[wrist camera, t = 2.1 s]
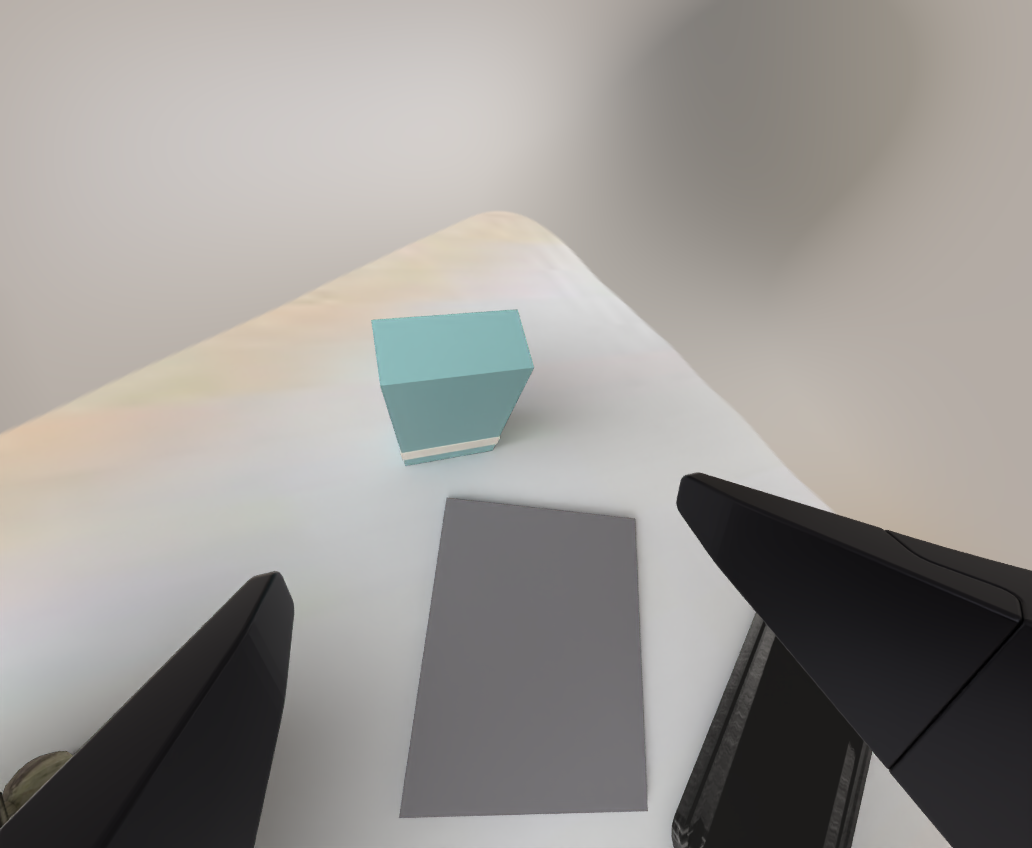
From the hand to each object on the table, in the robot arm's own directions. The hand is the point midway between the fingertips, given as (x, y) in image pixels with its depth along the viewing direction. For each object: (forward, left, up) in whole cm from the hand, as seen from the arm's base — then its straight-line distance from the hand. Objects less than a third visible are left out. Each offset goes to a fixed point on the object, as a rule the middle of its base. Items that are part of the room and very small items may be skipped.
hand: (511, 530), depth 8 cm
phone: (-8, -18, -13) cm, 24 cm away
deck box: (+6, +2, -12) cm, 14 cm away
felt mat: (-4, -4, -12) cm, 14 cm away
